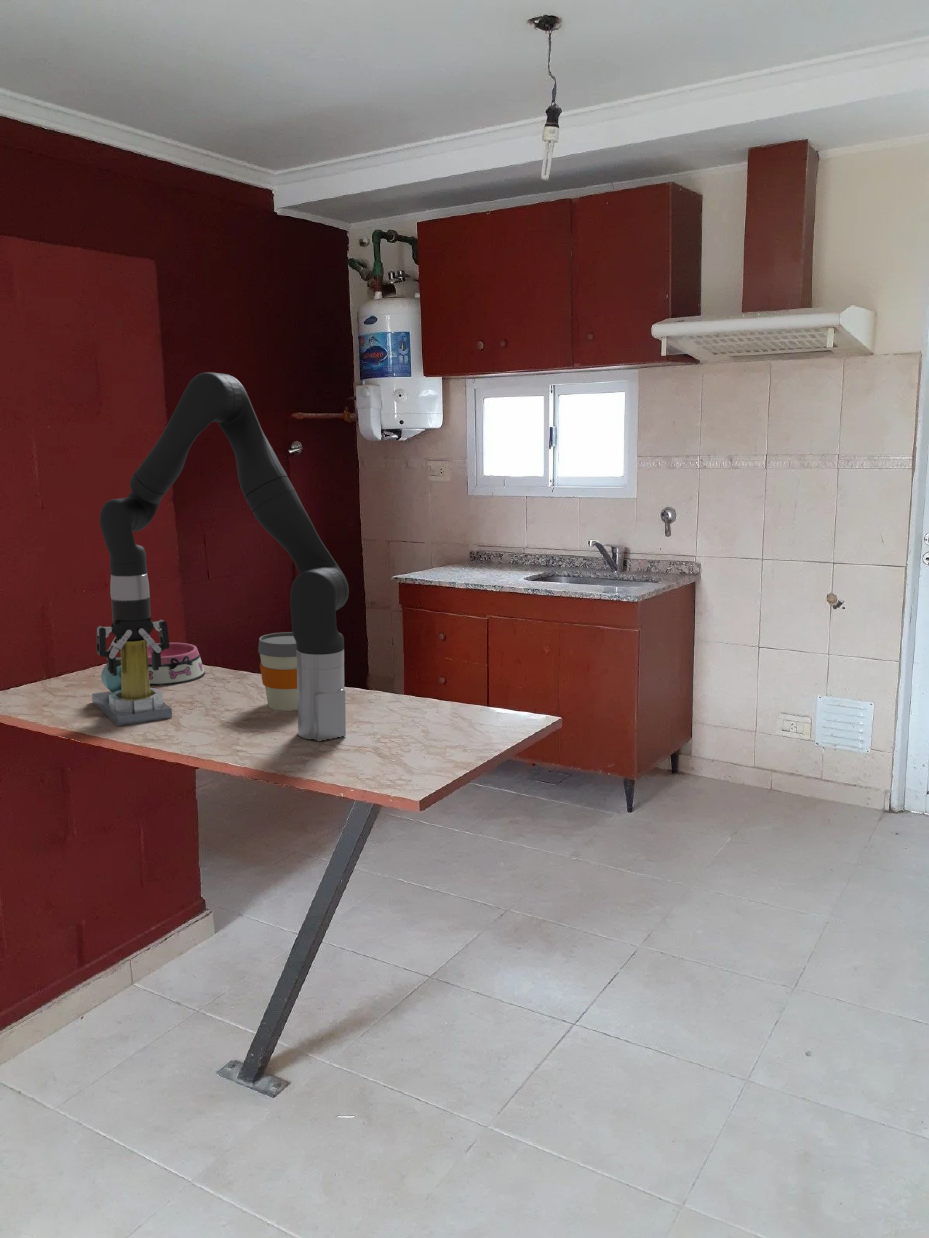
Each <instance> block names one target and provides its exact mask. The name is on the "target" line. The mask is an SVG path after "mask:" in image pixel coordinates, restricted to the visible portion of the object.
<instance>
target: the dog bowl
mask: <svg viewBox="0 0 929 1238" xmlns="http://www.w3.org/2000/svg"><path fill="white" fill-rule="evenodd" d="M155 643H156V642H155ZM156 644H157V645H158V644H160V642H159V643H156ZM169 644H170V647H169V648H168V649H164V650H162V651H161V667H159V670H156V671H155V670H153V669H152V655H151V652H153V650H152V649H151V648H150V646H149V645H148V644H147V655H148V672H149V684H150V687H151V686H156V687H157V686H160V687H161V686H173V685H181V684H186V683H190V682H191V683H192V682H194V681H197V680H200V679H201V678H203V677H204V676H205V674H206V672H205V669H204V665H203V662H202V659H201V654H200V653H199V650H198V648H197V645H194V644H190V643H185V642H169Z"/></svg>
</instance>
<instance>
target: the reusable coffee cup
mask: <svg viewBox="0 0 929 1238" xmlns="http://www.w3.org/2000/svg"><path fill="white" fill-rule="evenodd" d="M257 650H258V651H257V652H258V654H259V657H260V663H259V669H260V676H261V680H262V685H263V686H264V688H265V696H266V700H267V706H268V708H270V709H271V710H274V711H284V712H285V711H298V705H297V651H296V650H297V649H296V641H295V638H294V636H293V632H292V631H291V632H290V631H288V632H287V631H285V632H284V631H283V632H273V633H269V634H264V635H261V636H260V637H259V639H258V649H257Z"/></svg>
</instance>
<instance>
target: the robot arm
mask: <svg viewBox="0 0 929 1238" xmlns="http://www.w3.org/2000/svg"><path fill="white" fill-rule="evenodd" d="M212 423H217V425H218V426H219V427H220V428H221V430H222V432H223V433H224V435H225V437H226V438H227V440H228V442H229V443H230V447H231V448H232V450H233V454H234V458H235V463H236V472H237V478H238V482H239V487H240V490H241V492H242V494H243V498H244V499H245V501H246V502H247V504H248V506H249V508H250V510H251V512H252V513H253V515H254V517H255V518H256V520H257V522H258V523H259V524H260V526H262V528H263V529H264V530H265V531H266V532H267V533H268V534H269V535H270V536H271V537H272V538H273V539H274V540H275V541H276V542H277V543H278V544H279V545H280V546H281V547H282V548H283V549H284V550H285V551H286V552H287V553H288V555H289V557H290V558H291V560H292V561H293V564H294V565H295V567H296V569H297V571H298V575H297V576H296V577H295V579H294V580H293V582H292V584H291V587H290V588H291V589H290V594H289V595H290V597H289V598H290V600H289V601H290V603H289V604H290V619H291V632H293V636H294V638H295V641H296V649H297V650H296V651H297V705H298V710H297V731H298V732H297V734H298V736H299V737H301V738H303V739H305V740H306V739H307V740H311V739H315V740H314V741H316V740H317V741H316V742H323V741H322V740H324V741H326V740H325V739H329V740H334V739H338V738H337V737H340V736H345V737H346V736H347V735H346V734H347V730H346V728H347V726H346V724H347V723H346V721H347V719H346V716H347V715H346V711H347V710H346V690H345V637H344V634H342V633H341V632H339V631H338V626H337V611H338V610H339V609H341V608H343V607H344V606H345V604H346V603H347V601H348V599H349V595H350V589H349V583H348V580H347V578H346V576H345V573H343V571H342V569H341V568H340V566H339V565H338V563H337V562H336V560H335V559H334V557H333V556H332V555H331V553H330V551H329V550H328V548H327V547H326V546H325V544H324V543H323V541H322V539H321V538H320V535H319V534H318V532H317V530H316V528H315V526H314V524H313V522H312V520H311V518H310V517H309V514H308V512H307V511H306V509H305V507H304V506H303V504H302V501H301V499H300V497H299V496H298V495H299V494H298V493H297V491H296V489H295V487H294V486H293V484H292V482H291V480H290V478H289V476H288V474H287V472H286V470H285V469H284V467H283V465H281V462H280V460H279V458H278V456H277V454H276V452H275V451H274V450H273V449H274V448H273V447H272V445H271V444H270V442H269V440H268V438H267V437H266V435H265V433H264V431H263V429H262V427H261V424H260V421H259V419H258V417H257V414H256V412H255V410H254V408H253V405H252V403H251V399H250V397H249V395H248V392H247V391H246V388H245V387H244V385H243V384H242V383H241V382H240V380H238V379H237V378H236V377H234V376H233V375H230V374H228V373H227V374H226V373H218V372H213V371H212V372H210V371H207V372H206V371H205V372H201V373H198V374H197V375H195V376H193V378H192V379H191V380H190V381H189V382H188V384H187V386H186V387H185V389H184V391H183V392H182V395H181V397H180V399H179V401H178V403H177V405H176V407H175V409H174V411H173V413H172V415H171V417H170V418H169V421H167V425H165V428H164V430H163V431H162V434H161V435H160V437H159V438H158V439H157V441H156V443H155V445H154V446H153V447H152V449H151V450H150V452H149V453H148V454H147V456H146V457H145V458H144V459H143V461H142V462H141V464H140V465H139V466H138V468H136V470H135V471H134V473H133V475H132V476H131V477H130V480H129V488H130V489H131V492H130V493H129V494H128V495H127V497H121V498H113V499H110V500H108V501H106V502H105V503H104V504H103V505H102V507H101V509H100V512H99V524H100V525H99V527H100V529H101V533H102V535H103V539H104V542H105V546H106V549H107V551H108V554H109V567H110V585H109V586H110V587H109V588H110V591H109V594H110V595H109V596H110V599H111V600H110V602H111V605H110V606H111V615H112V616H111V617H112V618H111V619H112V623H111V625H110V626H102V625H97V627H96V654H97V655H98V656H100V657H102V658H106V665H107V670H108V672H109V673H110V674H111V675H112V676H117V666H116V656H117V654H118V653H119V652H120V650H121V648H122V647H123V645H124V644H125V642H134V641H141V640H144V639H145V640H146V642H147V645H149V646H150V648H151V649H152V650H153V652H151V655H152V669H153V670H155V671H156V670H159V667H161V651H162V650H164V649H168V648H169V647H170V644H169V643H170V637H169V636H170V635H169V629H168V622H166V621H165V620H163V619H159V620H156V621H153V620H152V615H151V614H152V613H151V598H150V597H151V596H150V594H151V593H150V582H149V578H148V567H147V566H148V565H147V553H146V550H145V548H144V546H143V545H140V544H136V541H135V538H134V535H133V533H135V532H140V531H142V530H143V529H145V528H146V527H147V526H148V525H149V524H150V523H151V522H152V521H153V519H154V516H155V515H156V513H157V512H158V511H157V510H158V509H159V506H160V504H161V500H162V498H163V497H164V496H165V495H166V494H167V492H168V491H169V490H170V489H171V487H172V486H173V484H174V483H175V482H176V481H177V479H178V478H179V477H180V475H181V473H182V470H183V469H184V466H185V464H186V460H187V457H188V454H189V451H190V449H191V447H192V445H193V443H194V442H195V441H196V439H197V438H198V437H199V435H200V434H201V433H202V432H204V430H205V429H206V428H207V427H209V425H211V424H212ZM154 629H155V630H156V631H157V632H158V634H159V643H160V644H158V645H157V644H156V641H155V640H154V639H153V638H152V637H151V635H150V634H151V633H152V632H153V630H154ZM110 633H112V634H113V635H114V638H113V640H112V641H111V644H110V646H109V647H108V649H107V646H106V645H107V644H106V643H107V640H106V639H107V638H108V637H109V635H110ZM106 649H107V650H106ZM333 738H334V739H333ZM340 738H341V737H340Z"/></svg>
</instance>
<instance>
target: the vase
mask: <svg viewBox="0 0 929 1238" xmlns="http://www.w3.org/2000/svg"><path fill="white" fill-rule="evenodd" d="M147 645H148V644H147V642H146V640H145V639H144V640H141V641H134V642H125V644H124V645H123V647H122V648H121V650H119V652H120V657H121V688H122V699H139V698H146V697H150V696H151V694H150V688H151V686H150V684H149V672H148V655H147Z"/></svg>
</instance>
